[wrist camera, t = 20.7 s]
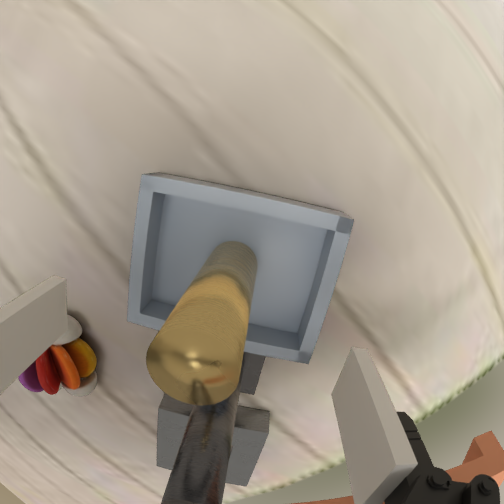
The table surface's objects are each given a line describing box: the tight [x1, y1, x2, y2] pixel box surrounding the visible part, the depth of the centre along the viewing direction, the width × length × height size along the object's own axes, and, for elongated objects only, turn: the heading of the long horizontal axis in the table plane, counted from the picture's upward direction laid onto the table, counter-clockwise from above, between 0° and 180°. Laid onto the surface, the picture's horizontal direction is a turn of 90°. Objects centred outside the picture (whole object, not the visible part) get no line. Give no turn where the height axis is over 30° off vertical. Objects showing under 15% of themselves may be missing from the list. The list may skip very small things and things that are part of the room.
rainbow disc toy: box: [18, 315, 97, 397], centre depth 25 cm, size 8×10×7 cm
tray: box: [127, 173, 354, 364], centre depth 23 cm, size 14×11×3 cm
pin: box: [146, 241, 258, 405], centre depth 18 cm, size 4×4×13 cm
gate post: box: [161, 352, 265, 504], centre depth 19 cm, size 6×6×16 cm
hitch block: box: [157, 393, 269, 486], centre depth 28 cm, size 10×10×3 cm
